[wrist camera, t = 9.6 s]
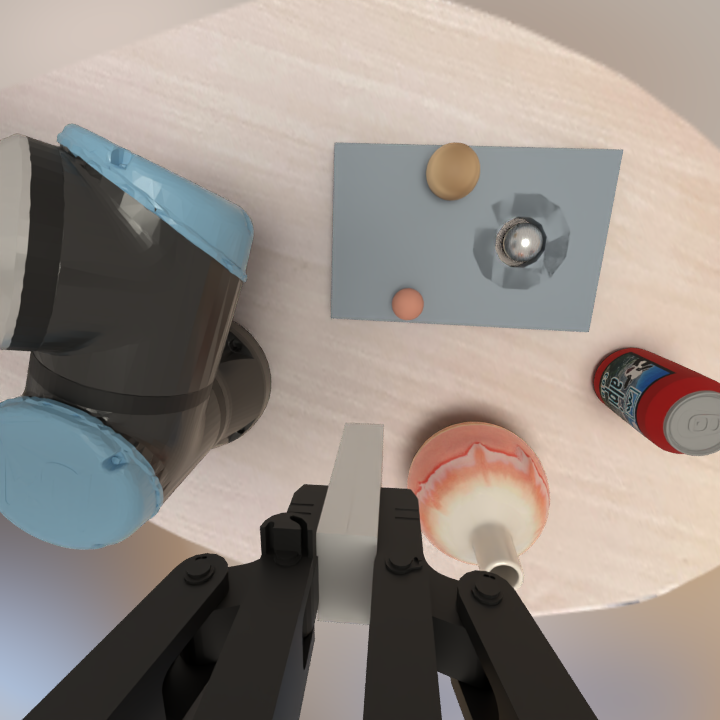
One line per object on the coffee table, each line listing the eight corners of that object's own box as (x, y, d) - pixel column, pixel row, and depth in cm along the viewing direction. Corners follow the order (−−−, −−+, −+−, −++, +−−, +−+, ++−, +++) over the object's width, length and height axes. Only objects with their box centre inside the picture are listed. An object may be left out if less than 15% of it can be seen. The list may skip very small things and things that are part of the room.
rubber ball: (391, 316, 42) (390, 322, 39) (392, 285, 41) (392, 289, 39) (421, 318, 42) (423, 323, 39) (424, 287, 41) (426, 290, 38)
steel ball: (500, 261, 39) (540, 263, 38) (505, 221, 39) (546, 222, 37) (501, 260, 43) (539, 262, 42) (506, 223, 42) (544, 224, 41)
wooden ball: (422, 201, 39) (425, 196, 35) (426, 148, 38) (430, 136, 34) (472, 203, 39) (481, 198, 34) (478, 149, 38) (488, 137, 33)
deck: (334, 314, 45) (331, 318, 43) (338, 148, 41) (334, 142, 38) (578, 327, 43) (588, 332, 41) (609, 155, 39) (623, 149, 37)
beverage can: (593, 346, 44) (662, 384, 32) (663, 344, 43) (759, 382, 32) (587, 407, 46) (651, 464, 34) (654, 407, 45) (742, 464, 33)
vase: (494, 529, 51) (543, 674, 34) (387, 487, 50) (382, 612, 33) (551, 432, 47) (638, 541, 30) (435, 386, 46) (457, 469, 29)
